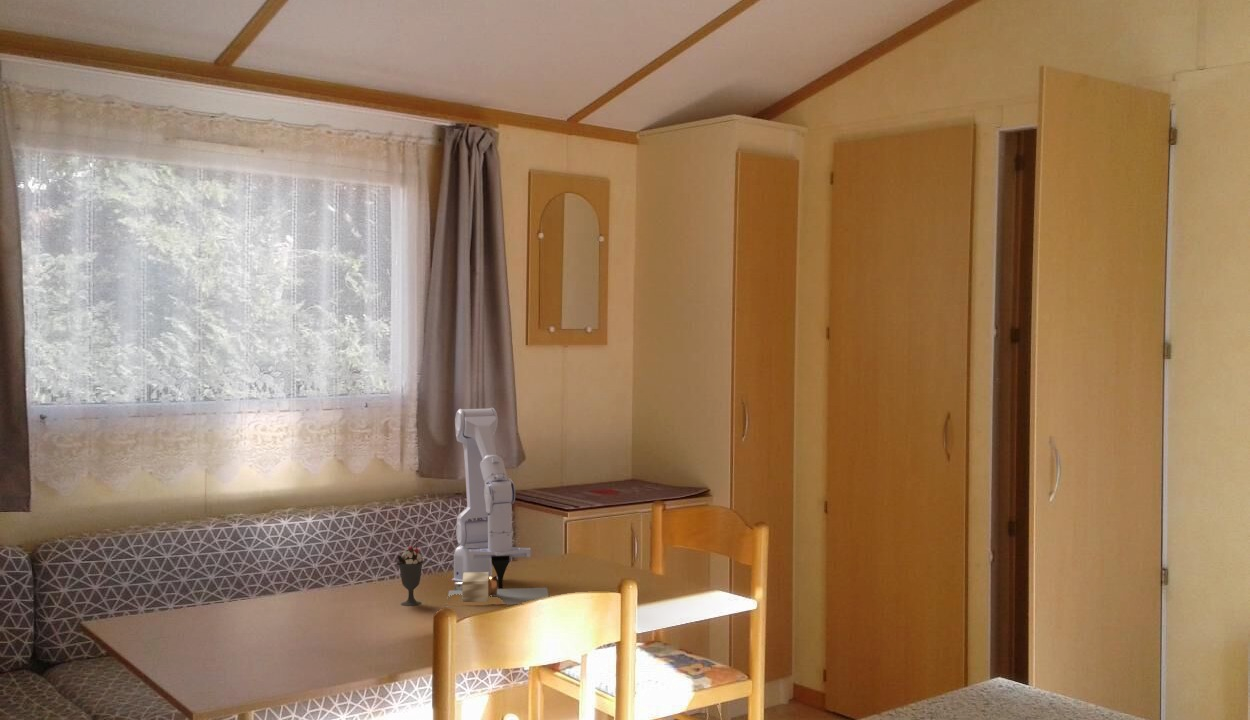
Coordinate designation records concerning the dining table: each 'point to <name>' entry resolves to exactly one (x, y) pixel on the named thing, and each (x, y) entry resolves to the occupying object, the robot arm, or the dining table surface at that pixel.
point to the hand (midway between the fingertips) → (500, 587)
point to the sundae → (410, 572)
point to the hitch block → (475, 587)
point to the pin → (491, 585)
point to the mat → (514, 594)
